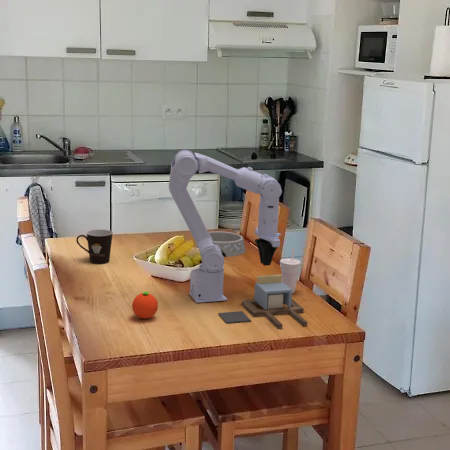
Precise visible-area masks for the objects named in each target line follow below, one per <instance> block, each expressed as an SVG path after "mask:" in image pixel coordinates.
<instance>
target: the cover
mask: <svg viewBox="0 0 450 450" xmlns="http://www.w3.org/2000/svg"><path fill="white" fill-rule="evenodd" d="M275 293H283V303H284V304H283V305H285V306H286V307H291V299H293V298H292V297H293V293H292V289H290V288H289V287H288V286H287V285H286V284H284V283H283V282H282V275H281V273H280V274H266V275H257V276H256V282H255V284H254V296H253V298H254V299H253V300H255V301H256V302H257V303H258V304H259V305H260V306H259V307H262V308H263V309H267V299H268V294H275Z"/></svg>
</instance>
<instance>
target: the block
mask: <svg viewBox="0 0 450 450" xmlns="http://www.w3.org/2000/svg"><path fill="white" fill-rule="evenodd" d="M273 308H284V304H283V293H275V294H268V299H267V309H273Z"/></svg>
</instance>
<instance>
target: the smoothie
mask: <svg viewBox="0 0 450 450" xmlns="http://www.w3.org/2000/svg"><path fill="white" fill-rule="evenodd" d="M291 249H292V251H291V258H282V259H280V260H279V265H280V272H281V273H280V275H281V276H282V278H281V281H282V282H283V283H284V284H286V285H287V286H288V287H289V288H290V289H292V294H294V293H295V292H296V286H297V281H298V276H299V272H300V267H301V265H302V261H301V260H299V259H296V258H295V257H294V256H295V247H292V248H291Z"/></svg>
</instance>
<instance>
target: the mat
mask: <svg viewBox="0 0 450 450" xmlns="http://www.w3.org/2000/svg"><path fill="white" fill-rule="evenodd" d="M218 316H219V317H220V318H221V319H222V320H223V321H224V323H225V324H226V325H227V324H228V325H229V324H236V323H237V324H238V323H251V322H252V320H251V318H249V317H248V316H247V314H246V313H244V311H242V310H239V311H236V310H235V311H225V312H218Z"/></svg>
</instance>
